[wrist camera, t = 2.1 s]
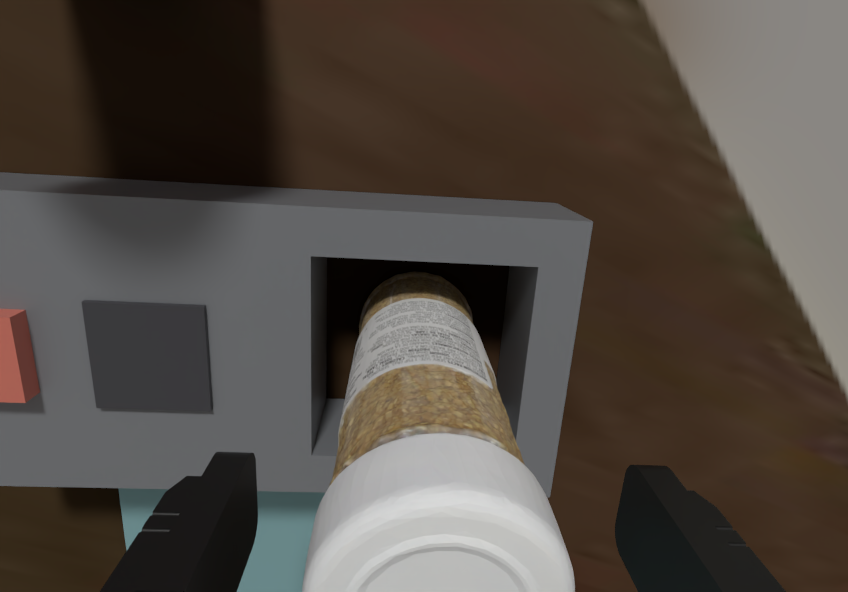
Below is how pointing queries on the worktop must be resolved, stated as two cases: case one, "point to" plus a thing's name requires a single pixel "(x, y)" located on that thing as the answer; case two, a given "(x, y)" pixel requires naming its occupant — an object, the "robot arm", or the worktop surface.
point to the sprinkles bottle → (429, 463)
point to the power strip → (239, 322)
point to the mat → (274, 543)
